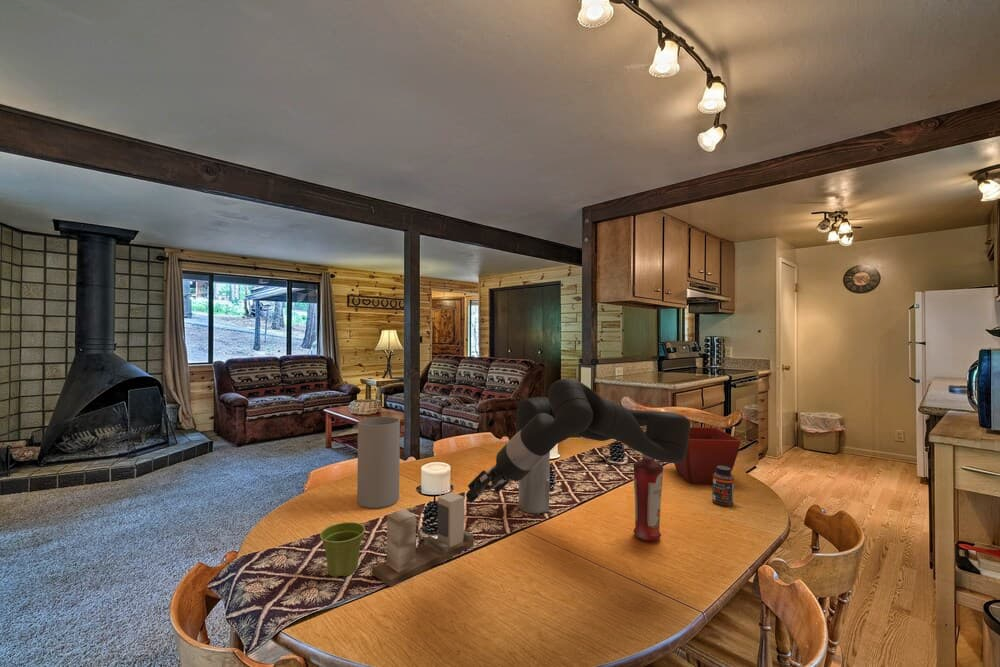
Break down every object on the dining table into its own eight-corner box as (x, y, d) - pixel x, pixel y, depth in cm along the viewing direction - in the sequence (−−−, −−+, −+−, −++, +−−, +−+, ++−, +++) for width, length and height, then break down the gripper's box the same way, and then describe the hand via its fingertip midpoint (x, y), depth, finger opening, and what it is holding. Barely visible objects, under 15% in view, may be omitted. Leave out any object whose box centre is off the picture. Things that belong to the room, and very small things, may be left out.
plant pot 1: (338, 587, 91) (339, 546, 91) (310, 573, 96) (311, 534, 96) (373, 567, 99) (374, 528, 99) (346, 555, 104) (346, 518, 104)
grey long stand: (454, 536, 114) (455, 488, 113) (473, 545, 109) (474, 495, 109) (372, 574, 96) (372, 517, 96) (390, 587, 91) (391, 527, 91)
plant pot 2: (740, 488, 151) (742, 439, 151) (685, 487, 151) (686, 439, 151) (714, 470, 170) (715, 427, 170) (665, 469, 170) (665, 426, 170)
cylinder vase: (407, 501, 136) (407, 421, 136) (371, 513, 127) (371, 427, 127) (384, 490, 145) (385, 415, 144) (349, 501, 135) (350, 420, 135)
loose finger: (451, 535, 111) (451, 492, 111) (463, 541, 108) (464, 496, 108) (435, 542, 107) (436, 497, 107) (447, 548, 104) (448, 502, 104)
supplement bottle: (712, 505, 136) (713, 469, 136) (711, 498, 142) (712, 463, 142) (734, 508, 134) (735, 471, 134) (732, 501, 140) (733, 466, 139)
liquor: (640, 528, 119) (642, 426, 119) (666, 538, 114) (668, 431, 114) (627, 537, 114) (628, 430, 114) (653, 547, 109) (655, 435, 109)
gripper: (509, 477, 85) (467, 518, 93) (552, 461, 95) (511, 499, 103) (489, 444, 88) (451, 487, 96) (533, 433, 99) (495, 471, 107)
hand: (482, 493), depth 100 cm, fingers open, 8 cm apart
